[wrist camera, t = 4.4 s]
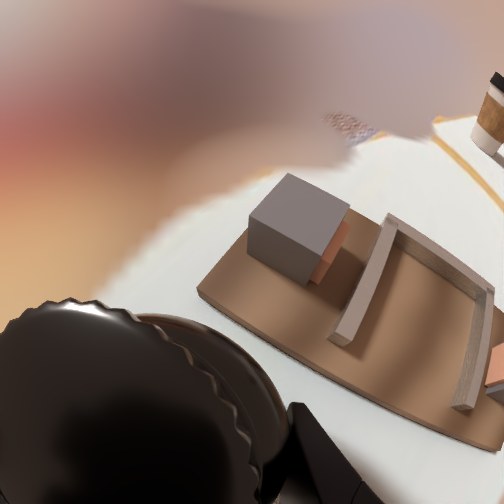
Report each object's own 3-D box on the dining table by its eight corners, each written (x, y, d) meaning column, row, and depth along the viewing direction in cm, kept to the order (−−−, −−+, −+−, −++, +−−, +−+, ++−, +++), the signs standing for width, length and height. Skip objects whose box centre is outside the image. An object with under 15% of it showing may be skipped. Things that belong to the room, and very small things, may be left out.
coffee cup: (458, 125, 35) (486, 64, 22) (486, 140, 35) (514, 86, 22) (476, 151, 30) (511, 83, 18) (504, 167, 30) (538, 108, 17)
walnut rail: (199, 296, 16) (186, 255, 12) (289, 188, 21) (299, 140, 17) (490, 451, 9) (532, 446, 5) (516, 336, 14) (550, 316, 10)
